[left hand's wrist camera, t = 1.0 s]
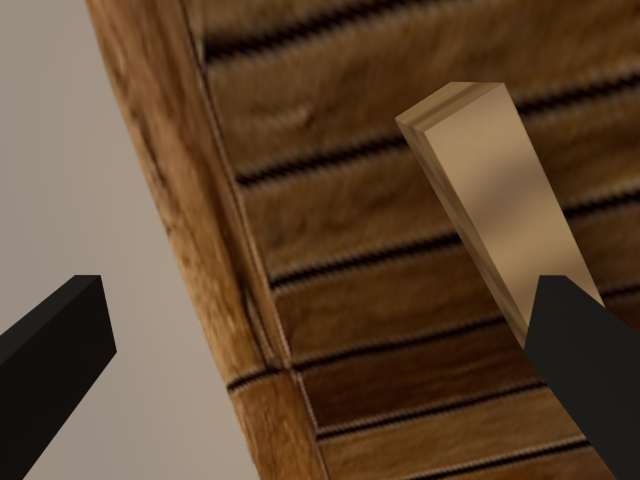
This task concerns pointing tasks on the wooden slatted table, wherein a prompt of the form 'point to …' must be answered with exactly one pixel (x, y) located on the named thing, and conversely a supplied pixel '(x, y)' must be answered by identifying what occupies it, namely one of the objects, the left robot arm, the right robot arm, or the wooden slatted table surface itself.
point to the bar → (494, 193)
